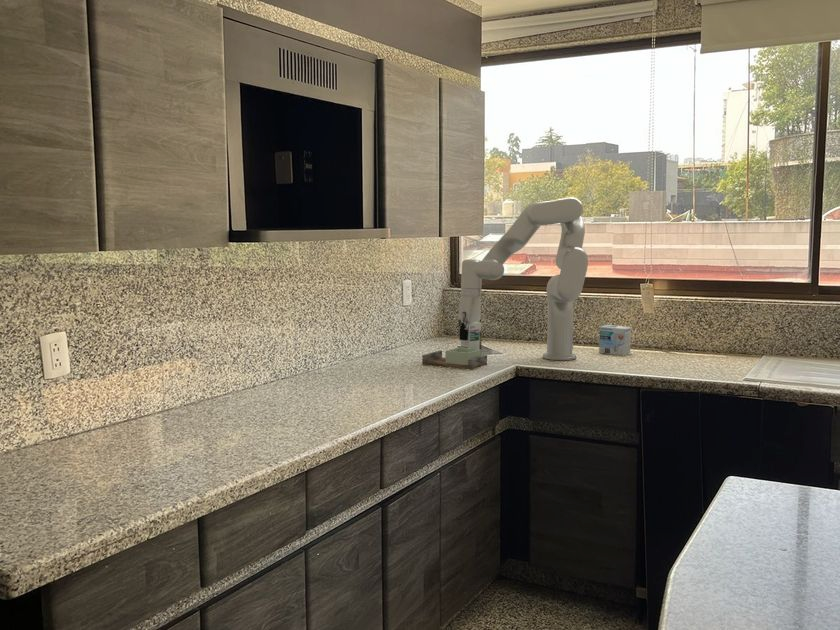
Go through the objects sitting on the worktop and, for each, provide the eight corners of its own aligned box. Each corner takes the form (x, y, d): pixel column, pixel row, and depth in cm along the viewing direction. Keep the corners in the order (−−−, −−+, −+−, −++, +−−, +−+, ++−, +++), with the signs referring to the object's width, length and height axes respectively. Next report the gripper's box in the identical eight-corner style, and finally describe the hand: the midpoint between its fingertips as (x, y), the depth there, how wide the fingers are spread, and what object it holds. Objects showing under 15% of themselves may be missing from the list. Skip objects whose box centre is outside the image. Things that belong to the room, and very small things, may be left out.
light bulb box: (598, 353, 302) (599, 326, 301) (604, 351, 307) (605, 324, 306) (624, 356, 296) (625, 328, 295) (630, 353, 301) (631, 326, 300)
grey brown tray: (438, 359, 287) (438, 350, 287) (486, 364, 277) (486, 355, 276) (422, 364, 277) (422, 355, 276) (471, 370, 267) (472, 360, 266)
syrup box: (468, 361, 283) (469, 322, 281) (460, 359, 288) (460, 321, 286) (481, 360, 286) (482, 321, 284) (472, 358, 291) (473, 320, 289)
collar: (457, 359, 281) (457, 347, 281) (480, 361, 277) (480, 349, 276) (445, 363, 273) (445, 350, 273) (469, 365, 269) (469, 353, 268)
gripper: (472, 290, 293) (471, 335, 295) (451, 293, 278) (449, 340, 280) (490, 292, 289) (488, 337, 291) (469, 295, 275) (468, 342, 277)
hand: (469, 338), depth 286 cm, fingers open, 9 cm apart
